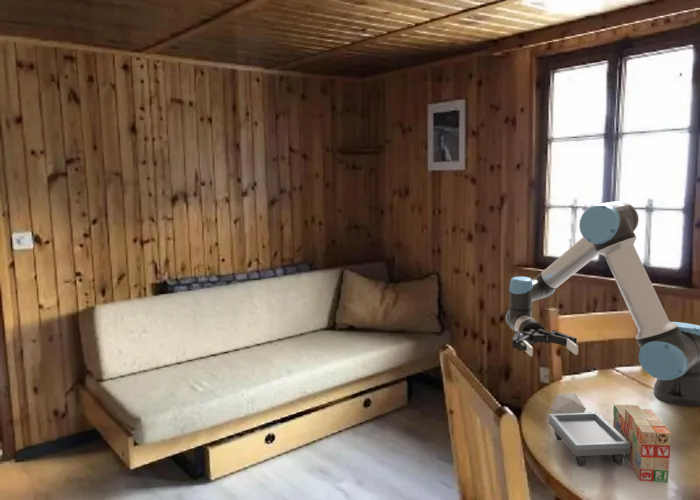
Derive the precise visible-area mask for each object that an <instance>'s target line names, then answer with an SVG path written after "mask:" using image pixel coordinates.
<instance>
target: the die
mask: <svg viewBox="0 0 700 500" xmlns="http://www.w3.org/2000/svg"><path fill="white" fill-rule="evenodd" d="M586 409H587V407H585V404H583V402H582V401H581V400H580V398H579V397H578V395H577V394H576V393H574V392H573V393H572V392H570V393H569V392H568V393H557V394H556V396H555V397H554V400H553V402H552V404H551V406H550V410H551V412H552V414H561V413H585V411H586Z"/></svg>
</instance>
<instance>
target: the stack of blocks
mask: <svg viewBox="0 0 700 500" xmlns="http://www.w3.org/2000/svg"><path fill="white" fill-rule="evenodd" d="M612 411H613V414H612V415H613V424H612V425H613V427H614V428H615V429H616V430H617V431H618V432H619V433H620V434H621V435H622V436H623V437H624V438H625V439H627V440H628V441H629V442H630V454H623V456H624V457H625V459H626V460H627V462H628V464H629V465H630V467H631V470H632V471H633V472H634V474H635V476H636V478H637V479H638V481H639V482H640V481H641V482H655V483H656V482H658V483H660V482H661V483H668V482H669V473H670V471H669V468H670V457H671V443H672V432H671V431H670V430H669V429H668V427H667V426H666V425H665V423H664V422H663V420H661V419H660V418H659V416H657V414H656V413H655V412H654V411H653V410H652V409H651V408H650V409H649V408H641V407H640V405H637V404H613V410H612Z"/></svg>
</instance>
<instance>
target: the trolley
mask: <svg viewBox="0 0 700 500" xmlns="http://www.w3.org/2000/svg"><path fill="white" fill-rule="evenodd" d="M548 424H549V425H550V427H551V428H552V430H553V432H554V436H555V439H556V440H557V441H561V440H562V441H563V442H564V444H565V445H566V446H567V447H568V448H569V449H570V451H571V452H572V453H573V454H574V460H575V463H576V465H577V464H578V465H577V466H578V467H585V466H586V465H587V456H588V457H589V456H604V455H605V456H606V455H607V456H608V455H610V457H611V460H612V462H613V464H614V465H622V464H623V463H624V454H630V442H629V441H628V440H627V439H625V438H624V437H623V436H622V435H621V434H620V433H619V432H618V431H617V430H616V429H615V428H614V426H612V425H613V424H610V423H609V422H608V421H607V420H606V419H605V418H604V417H603V416H602V415H601V414H600V413H599V412H598V411H592V412H591V411H589V412H588V411H587V412H584V413H561V414H554V413H549V414H548Z"/></svg>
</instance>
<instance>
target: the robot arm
mask: <svg viewBox="0 0 700 500" xmlns="http://www.w3.org/2000/svg"><path fill="white" fill-rule="evenodd" d="M637 211H638V210H636V209H635V207H634V206H633V205H632V204H630V203H627V202H625V201H622V200H617V201H616V200H615V201H609V202H600V203H597V204H593V205H591V206H590V207H587V209H586V210H585V211H584V212H583V213H582V215H581V217H580V219H579V223H578V224H579V227H578V228H579V231H580V233H581V235H582V237H581V238H580V239H579V240H578V241H577V242H575V243H574V244H573V245H572V246H571V247H569V248H568V249H567V250H566V251H565V252H564V253H563V254H562V255H560V256H559V257H558V258H557V259H556V260H555V261H553V262H552V263H551V264H549V266H547V268H544V270H542V271H541V272H540V273H539V274H538V275H537V276H536V277H535V278H531V277H528V276H514V277H511V279H510V281H509V282H510V283H509V300H508V301H509V304H508V305H509V306H508V307H509V308H508V311H507V312H506V315H505V321H506V324H507V325H508V327H509V328H510V329H511V330H512V331H513V332H514V333H513V334H514V336H513V337H512V340H511V348H512V349H513V348H514V349H515V348H517V349H518V351H520V352H521V351H524V352H525V353H526V354H527V355H529V357H533V356H534V347H533V346H532V345H533V344H535V345H536V344H538V343H545V344H551V343H552V344H556V345H559V346H564V347H566V349H567V350H568V351H570V352H571V353H573V355H575V356H578V355H579V345H578V343H577V342H578V338H577V337H575V336H572V335H568V334H565V333H563V332H559V331H557V330H555V329H553V330H552V332H551V331H547V330H545V328H544V326H543V325H542V323H540V322H538V321H537V320H536V319H535V318H533V317H532V310H533V302H535V301H538V300H541V299H545V298H548V297H550V296H552V295H553V294H554V293H555V292H556V289H557V288H559V286H561V285H562V284H564V283H565V281H567V280H568V279H570V278H571V277H572V276H573V275H575V274H576V273H577V272H579V271H580V270H581V269H582V268H584V267H585V266H586V265H587V264H588V263H590V262H591V261H592V260H594V259H595V258H596V257H597V256H599V255H601V256H603V257H604V258H605V261H606V262H607V265H608V267H609V270H610V271H611V273H612V275H613V277H614V280H615V283H616V284H617V287H618V289H619V291H620V294H621V296H622V297H623V301H624V303H625V304H626V306H627V308H628V311H629V314H630V315H631V317H632V319H633V321H634V324H635V326H636V328H637V334H636V336H635V339H636V341H637V342H636V343H637V344H638V347H639V348H640V349H639V351H638V361H639V364H640V366H641V368H642V370H644V372H646V373H647V375H648V376H649V375H650V376H651V377H653V378H655V379H656V380H655V383H654V385H653V394H654V396H655V397H657V398H658V399H660V400H662V401H665V402H666V403H671V404H673V405H679V406H683V407H684V406H685V407H700V325H699V324H693V323H688V322H680V321H670V320H669V317H668V315H667V313H666V311H665V309H664V306H663V304H662V302H661V301H660V298H659V297H658V294H657V292H656V290H655V287H654V286H653V283H652V281H651V280H650V276H649V275H648V273H647V271H646V268H645V267H644V263H642V260H641V257H640V256H639V253H638V251H637V249H636V247H635V242H636V240H637V236H636V234H635V233H634V232H635V231H636V229H637V228H638V226H639V214H638V212H637Z"/></svg>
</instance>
